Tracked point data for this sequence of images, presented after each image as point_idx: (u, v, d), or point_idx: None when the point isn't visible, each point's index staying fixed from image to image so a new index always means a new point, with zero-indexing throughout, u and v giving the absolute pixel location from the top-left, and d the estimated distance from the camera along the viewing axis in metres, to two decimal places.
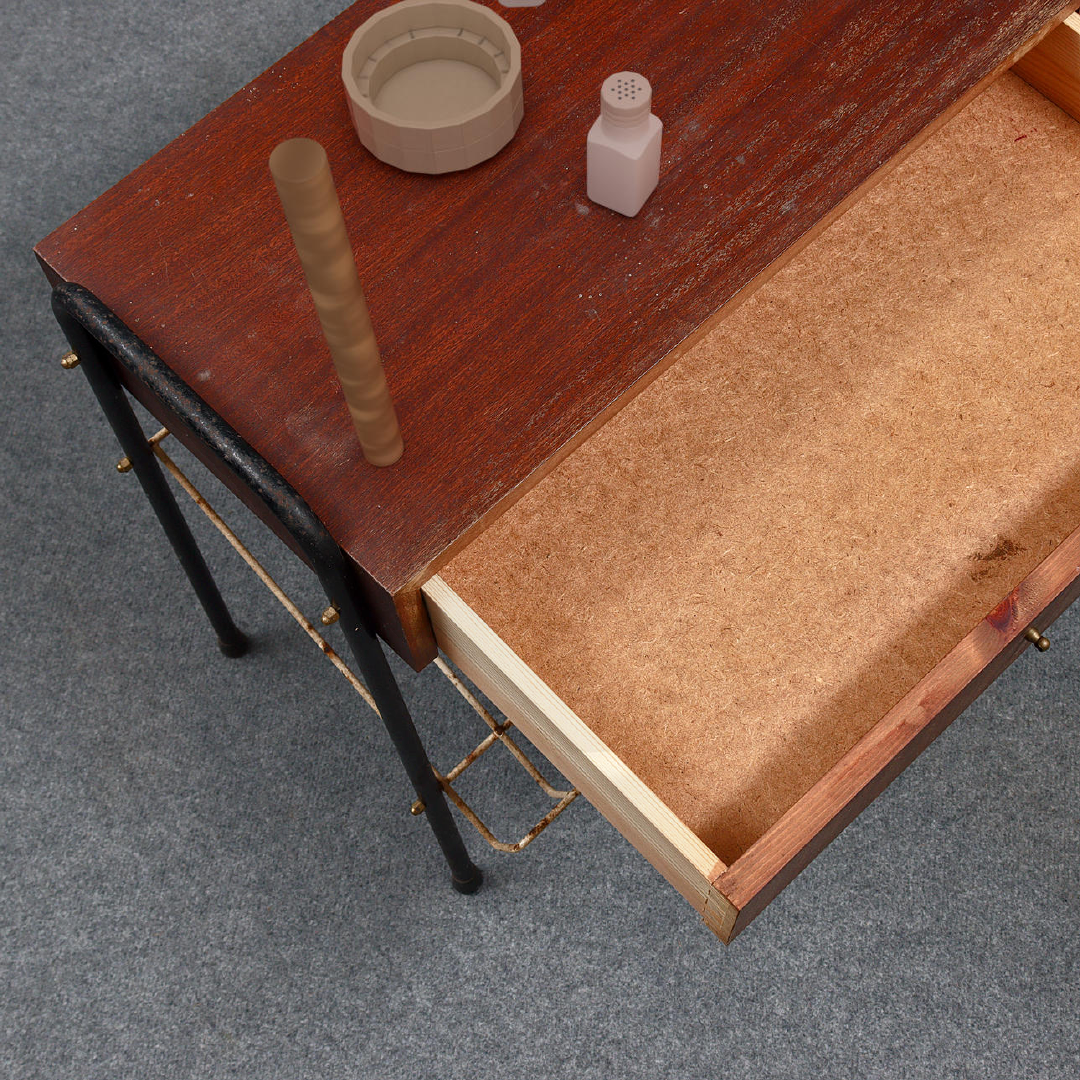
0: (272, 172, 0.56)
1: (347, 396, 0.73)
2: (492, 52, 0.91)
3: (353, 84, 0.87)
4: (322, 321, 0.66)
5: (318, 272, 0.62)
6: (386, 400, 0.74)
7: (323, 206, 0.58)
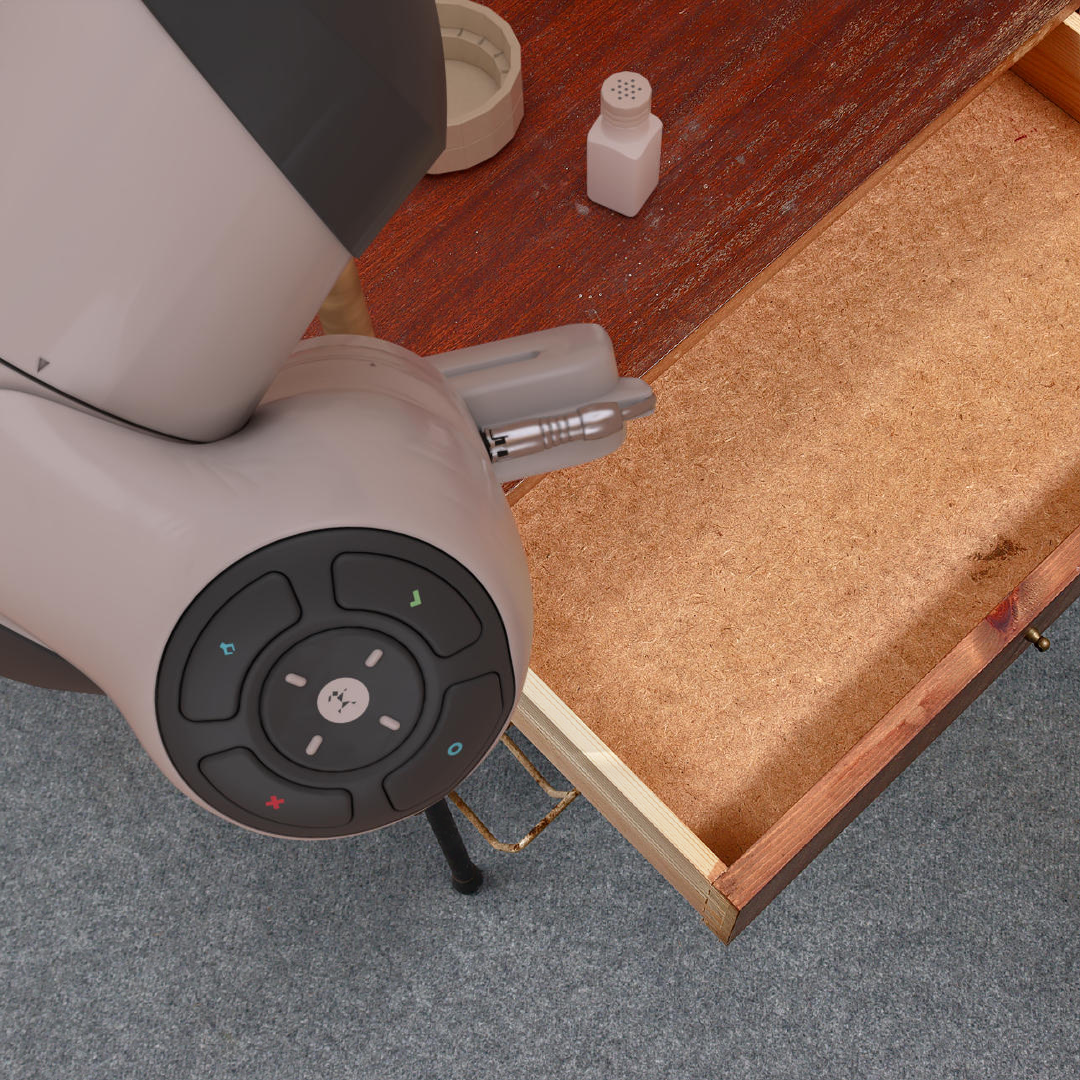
0: None
1: None
2: (492, 52, 0.91)
3: None
4: (322, 321, 0.66)
5: None
6: None
7: None
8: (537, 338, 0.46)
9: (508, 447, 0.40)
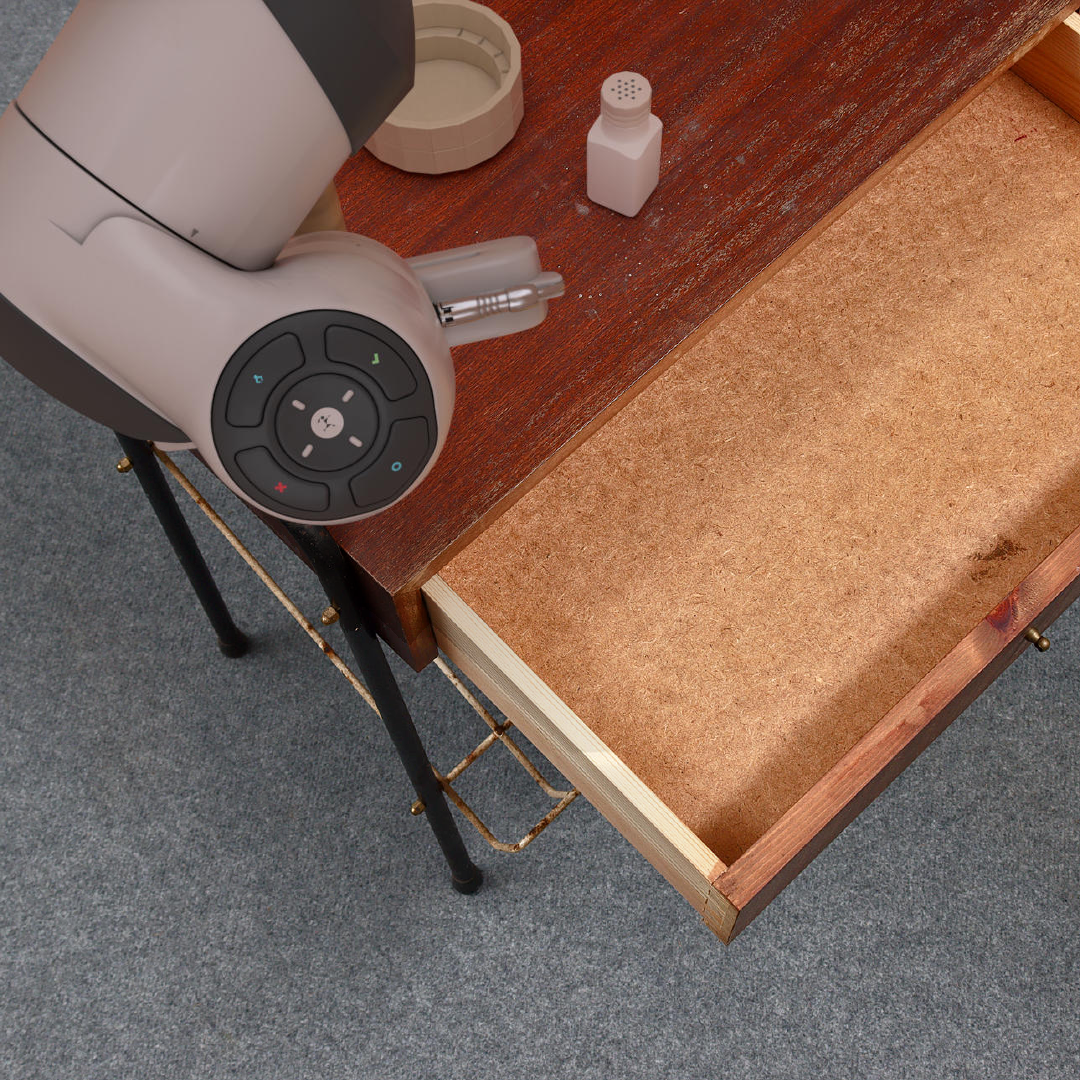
0: None
1: None
2: (492, 52, 0.91)
3: None
4: None
5: None
6: None
7: (323, 205, 0.58)
8: (482, 245, 0.60)
9: (453, 315, 0.54)
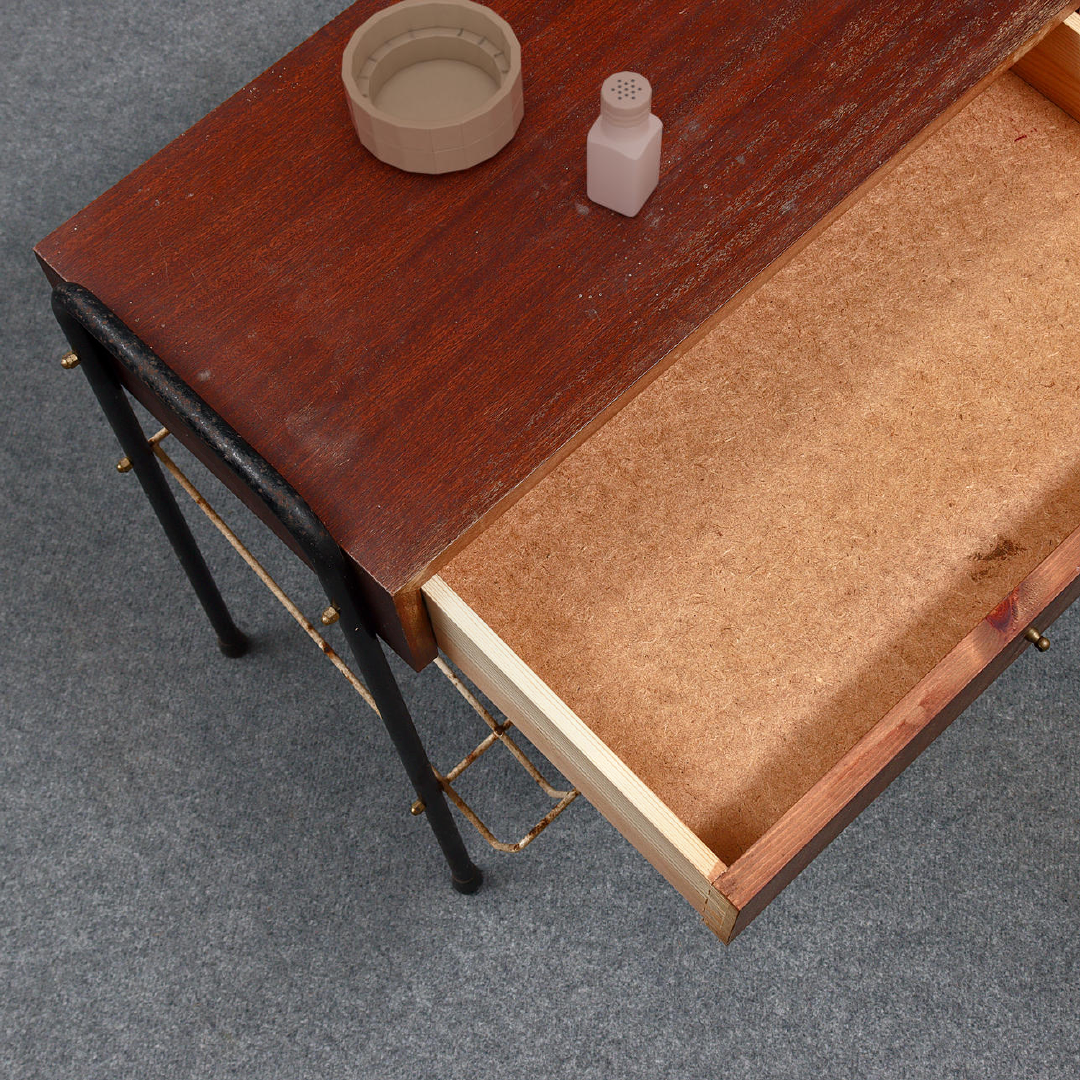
0: None
1: None
2: (492, 52, 0.91)
3: (353, 84, 0.87)
4: None
5: None
6: None
7: None
8: None
9: None
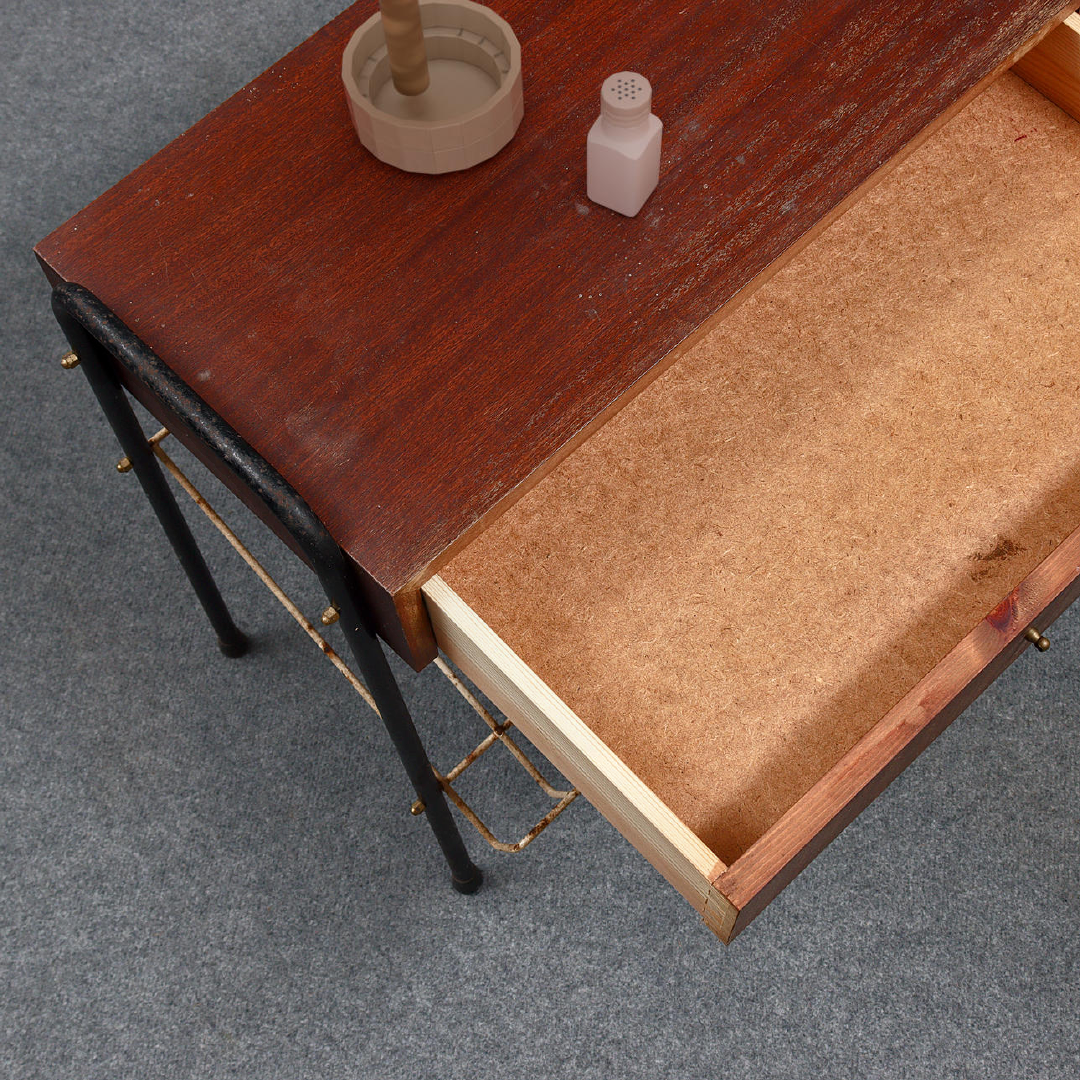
0: None
1: (383, 4, 0.83)
2: (492, 52, 0.91)
3: (353, 84, 0.87)
4: None
5: None
6: (416, 12, 0.84)
7: None
8: None
9: None
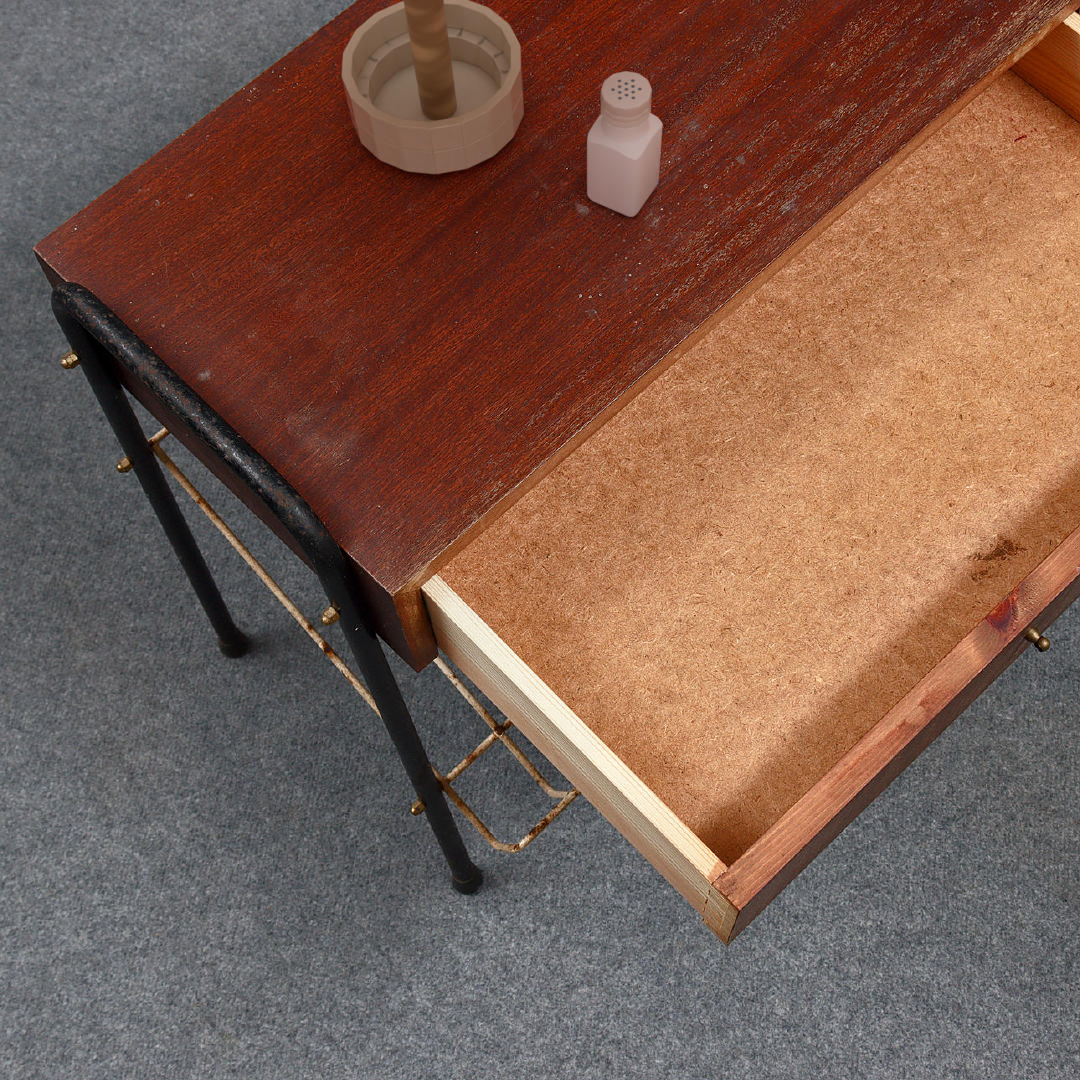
0: None
1: (412, 32, 0.84)
2: (492, 52, 0.91)
3: (353, 84, 0.87)
4: None
5: None
6: (445, 39, 0.85)
7: None
8: None
9: None
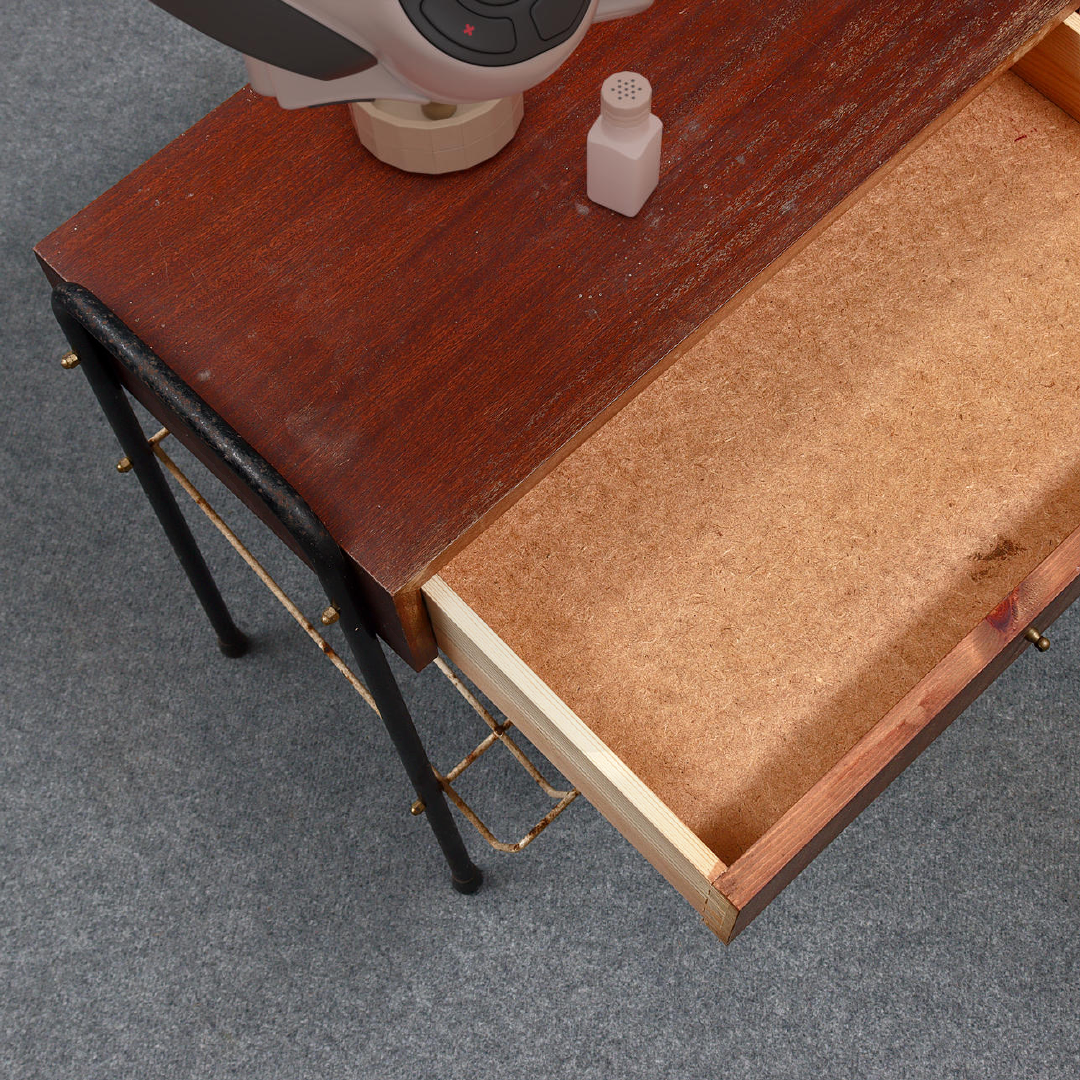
0: None
1: None
2: None
3: None
4: None
5: None
6: None
7: None
8: None
9: None
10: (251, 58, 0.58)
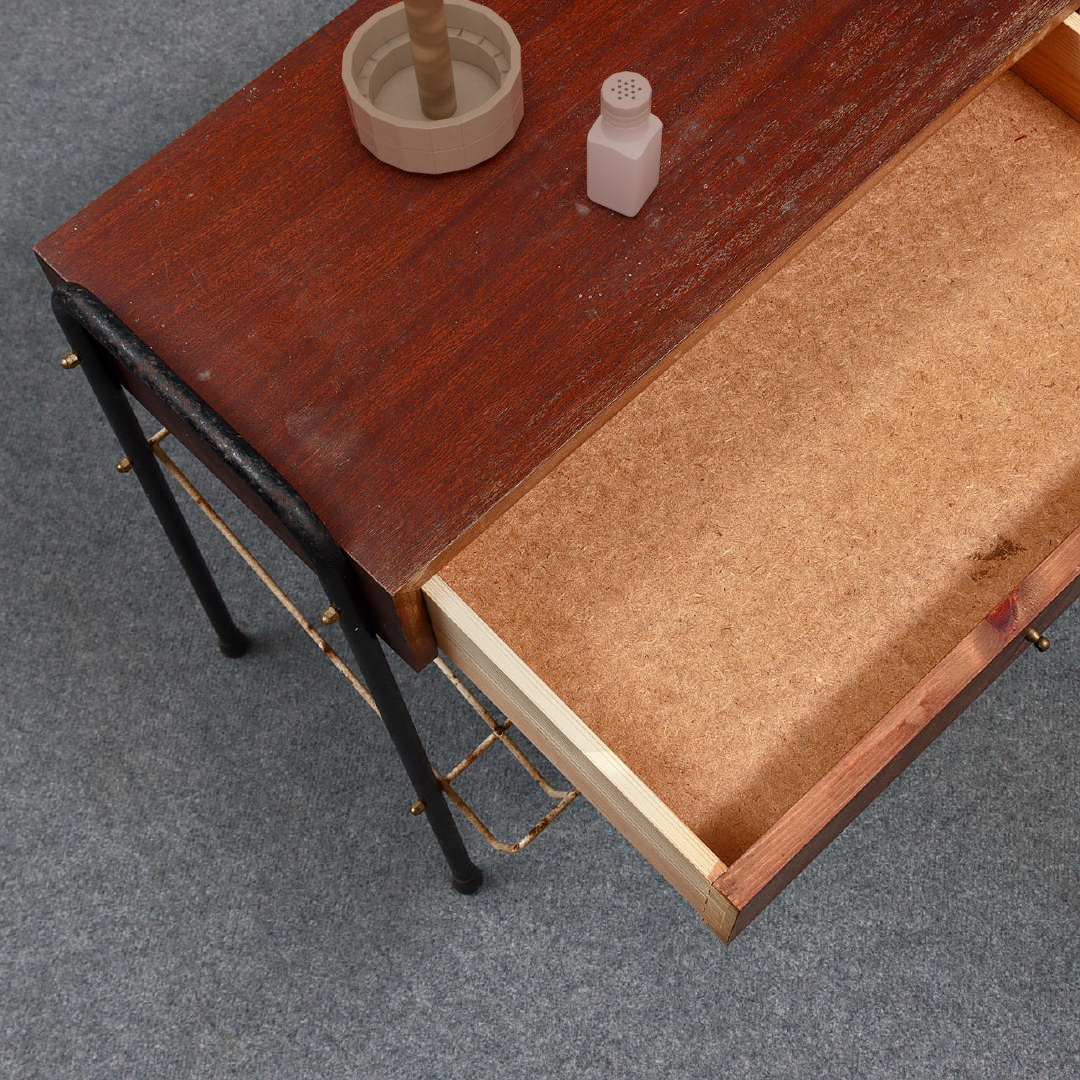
0: None
1: (412, 32, 0.84)
2: (492, 52, 0.91)
3: (353, 84, 0.87)
4: None
5: None
6: (445, 39, 0.85)
7: None
8: None
9: None
10: None
